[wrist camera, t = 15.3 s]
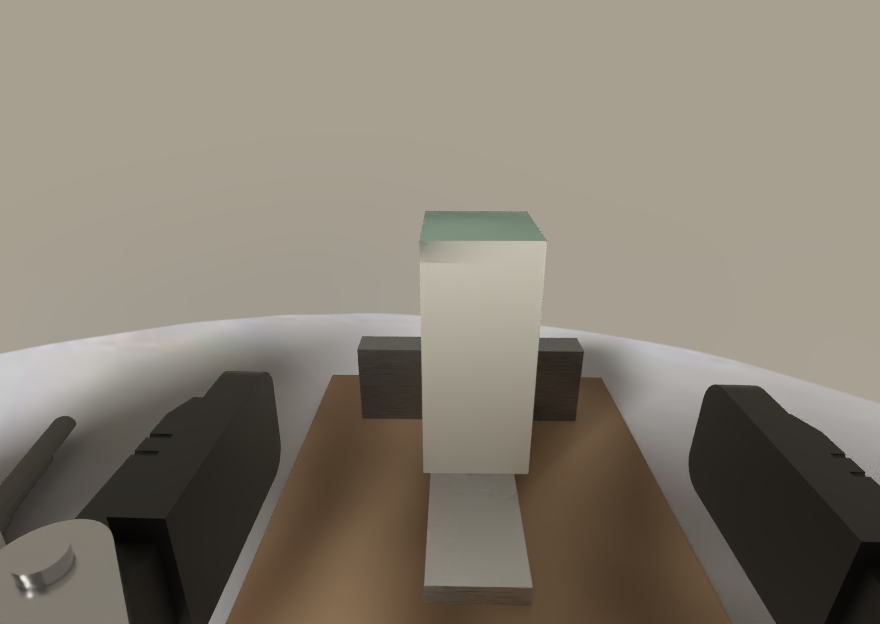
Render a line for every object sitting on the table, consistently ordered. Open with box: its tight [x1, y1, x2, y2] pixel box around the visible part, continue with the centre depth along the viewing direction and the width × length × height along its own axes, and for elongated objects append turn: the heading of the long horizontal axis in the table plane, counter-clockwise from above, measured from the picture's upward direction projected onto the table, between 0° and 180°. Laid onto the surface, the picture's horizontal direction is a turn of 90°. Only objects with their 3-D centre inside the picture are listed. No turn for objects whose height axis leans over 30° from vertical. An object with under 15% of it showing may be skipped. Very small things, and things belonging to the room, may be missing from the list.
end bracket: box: [357, 336, 584, 421], centre depth 27 cm, size 11×2×4 cm, turn 89°
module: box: [419, 211, 547, 474], centre depth 22 cm, size 4×5×10 cm
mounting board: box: [226, 375, 732, 624], centre depth 24 cm, size 16×16×1 cm
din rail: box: [424, 473, 533, 605], centre depth 23 cm, size 4×14×1 cm, turn 179°
